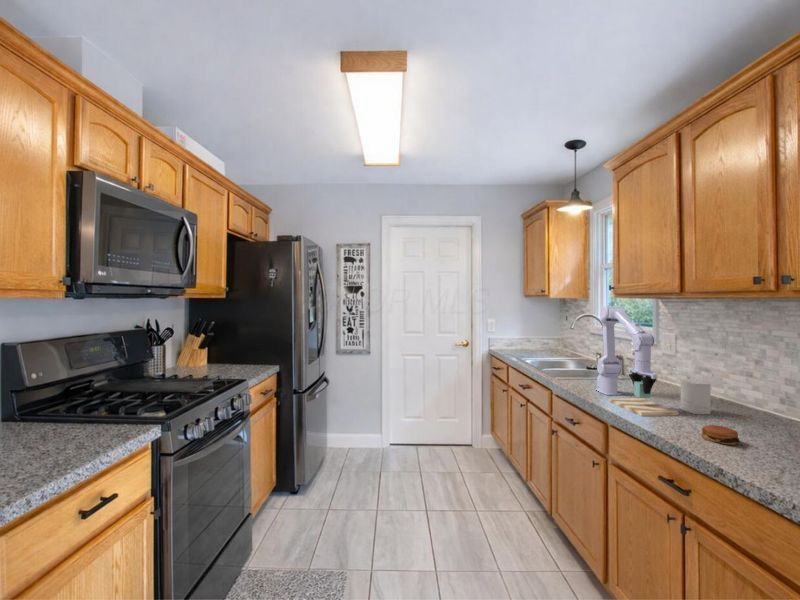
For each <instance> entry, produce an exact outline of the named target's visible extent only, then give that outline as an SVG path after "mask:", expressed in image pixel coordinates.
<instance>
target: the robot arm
mask: <svg viewBox="0 0 800 600" xmlns="http://www.w3.org/2000/svg"><path fill="white" fill-rule="evenodd" d="M627 310H628V309H626V307H624V306H623V305H620V306H618V305H617V306H616V305H615V306H613V305H611V306H609V305H608V306H606V305H603V306H602V307H601V308H600V310H599V317H600V319H599V320H600V323H601V324H602V342H603V343H602V344H603V345H602V346H603V351H602V352H603V356H600V358H599V359H598V360H597V365H596V366H597V367H596V369H597V372H598V375H597V378H596V388H595V389H594V391H596V390H597V391H596V392H598V391H599V392H598V393H600V394H603V395H605V396H621V395H622V393H620V392H618V384H619V383H618V378H619V376H620V375H621V374H622V373H623V366H622V364H621V360H620V359H619V358H618V357H616V339H615V325H616V324H617V323H621V324H622V326H624V329H625V332H626V333H627V334H628V335H629V336H630V338H631V342H632V345H633V350H634V367H628V373H629V374H628V376H629V377H630V379H631V382H632V385H633V386H634V381H638V382H643V389H644V394H650V392H651V393H652V391H651V390H652V388H653V386H654V384H655V383H656V381H657V380H658V374H657V373H654V372H652V371H651V369H652V368H651V367H652V366H651V363H652V361H651V359H652V358H651V357H652V346H654V344H655V337H654V335H653V333H651V332H648V331H647V332H646V331H645V330H644V329H643V328H642V327H641V325H639V323H638V322H633V321H632V319H631V318H630V317H629V315H628V314H627V313H628V312H627Z"/></svg>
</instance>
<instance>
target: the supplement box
mask: <svg viewBox="0 0 800 600" xmlns="http://www.w3.org/2000/svg"><path fill="white" fill-rule="evenodd" d="M711 387H712V386H711V383H707V382H704V381H700V380H693V379H691V380H688V379H687V380H683V379H682V380H680V407H679V408H680V409H681V410H682V411H685V412H688V413H691V414H692V415H710V414H711Z"/></svg>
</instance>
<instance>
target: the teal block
mask: <svg viewBox="0 0 800 600" xmlns="http://www.w3.org/2000/svg"><path fill="white" fill-rule="evenodd" d="M633 395H634V396H635V397H638V398H643V399H651V398H652V391H651V392H650V394H644V389H643V382H638V381H634V385H633Z"/></svg>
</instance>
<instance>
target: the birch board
mask: <svg viewBox="0 0 800 600" xmlns="http://www.w3.org/2000/svg"><path fill="white" fill-rule="evenodd" d="M608 401H609V403H611V404H613V405H615V406H618V407H620V408H623V409H624V410H627V411H628V412H631V413H633V414H635V415H638V416H640V417H659V416H660V417H663V416H664V417H669V416H672V417H673V416H674V417H675V416H679V411H677V410H674V409H672V408H669V407H666V406H663V405H661V404H658V403H655V402H653V401H650V400H647V399H646V398H639V397H638V398H636V397H635V398H633V397H631V398H609V399H608Z"/></svg>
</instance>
